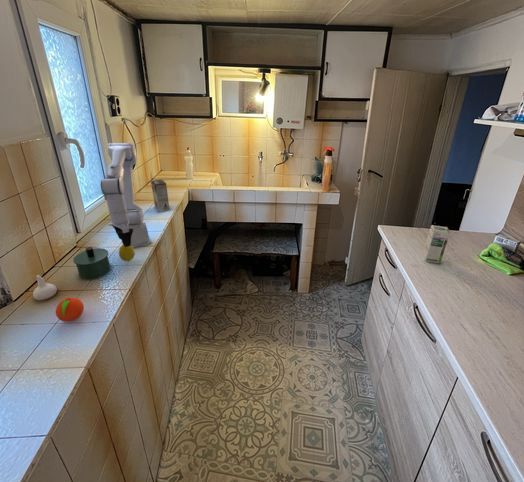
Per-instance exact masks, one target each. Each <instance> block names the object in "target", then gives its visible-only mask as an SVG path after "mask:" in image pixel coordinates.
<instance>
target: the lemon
mask: <svg viewBox="0 0 524 482" xmlns="http://www.w3.org/2000/svg"><path fill="white" fill-rule="evenodd" d="M135 253H136V252H135V249H134V248H133V247H132V246H128V247H125V246H124V245H123V244H122V245H121V246H120V247H119V249H118V256H119V258H120V260H122V261H124V262H127V263H128V262H131V261H132V260H133V259H134V258H135V255H136V254H135Z"/></svg>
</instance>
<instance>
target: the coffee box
mask: <svg viewBox="0 0 524 482" xmlns="http://www.w3.org/2000/svg"><path fill="white" fill-rule="evenodd" d="M150 185H151V191H152V196H153V203H154V207H155V209H156V210H157V211H158V212H159V213H161V212H166V211H170V209H171V208H170V202H169V193H168V187H167V183H166V181H164V179H162V178H161V179H155V180H151V181H150Z"/></svg>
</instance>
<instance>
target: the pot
mask: <svg viewBox="0 0 524 482" xmlns="http://www.w3.org/2000/svg"><path fill="white" fill-rule="evenodd" d="M75 265H76V266H75V267H76V269H77V272H78V275H79V277H80V279H82V280H87V281H91V280H96V279H100V278H102V277H105V276H106V275H107V274H108V273H110V271H111V264H110V260H109V255H108V256H107V257H106V258H105V259H104V260H102V261H100V262H98V263H95V264H91V265H84V266H82V265H77V264H75Z"/></svg>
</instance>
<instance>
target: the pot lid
mask: <svg viewBox="0 0 524 482" xmlns="http://www.w3.org/2000/svg"><path fill="white" fill-rule="evenodd" d="M107 256H108V257H109V251H108V250H107V249H105V248H102V247H95V248H93V246H88V247H85V250H83V251H81V252H79V253H77V254H76V255H74V257H73V263H74V264H75V265H76V264H77V265H82V266H84V265H91V264H95V263H98V262H100V261H102V260H104V259H105V258H106V257H107Z"/></svg>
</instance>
